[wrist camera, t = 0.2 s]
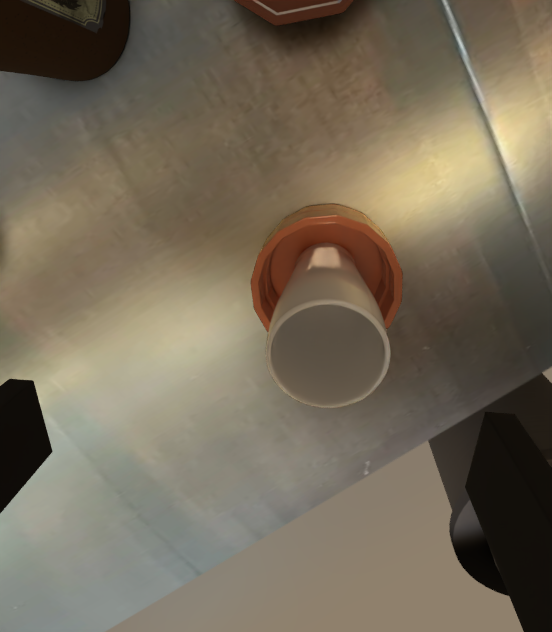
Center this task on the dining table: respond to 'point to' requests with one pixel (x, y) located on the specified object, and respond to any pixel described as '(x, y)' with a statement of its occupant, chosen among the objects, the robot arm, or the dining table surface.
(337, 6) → the ice cream bowl
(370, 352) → the drinking glass
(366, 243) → the pot
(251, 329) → the dining table surface
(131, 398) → the dining table surface
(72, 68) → the olive oil
